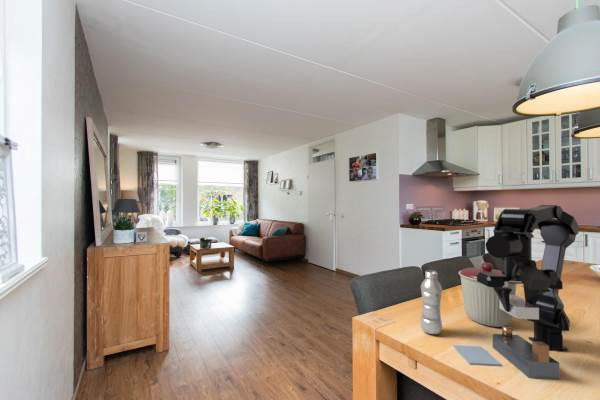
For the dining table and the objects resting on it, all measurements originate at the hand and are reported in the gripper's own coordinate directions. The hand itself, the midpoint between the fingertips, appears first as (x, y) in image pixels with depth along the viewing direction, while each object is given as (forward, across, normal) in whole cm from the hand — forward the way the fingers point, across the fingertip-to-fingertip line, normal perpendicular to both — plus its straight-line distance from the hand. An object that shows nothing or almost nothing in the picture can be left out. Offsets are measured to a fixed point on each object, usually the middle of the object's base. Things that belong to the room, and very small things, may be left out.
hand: (518, 311), depth 74 cm
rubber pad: (+13, -10, +1) cm, 17 cm away
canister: (+13, +6, +25) cm, 29 cm away
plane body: (+13, 0, -1) cm, 13 cm away
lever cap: (0, 0, 0) cm, 0 cm away
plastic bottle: (+13, -18, +14) cm, 26 cm away
